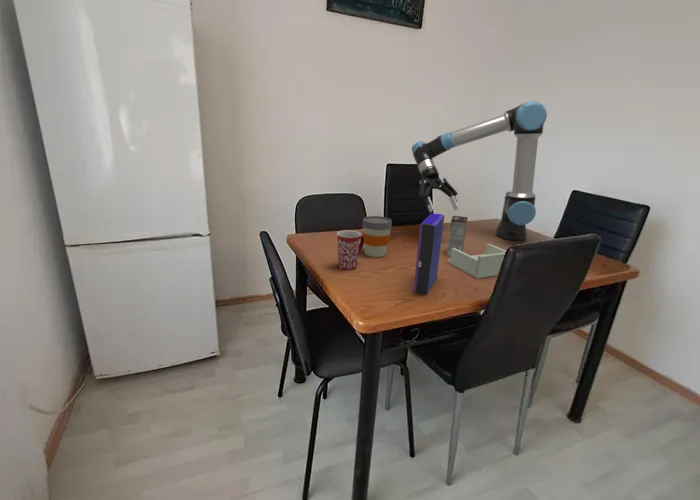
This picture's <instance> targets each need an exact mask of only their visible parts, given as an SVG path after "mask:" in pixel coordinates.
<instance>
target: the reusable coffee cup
mask: <svg viewBox="0 0 700 500" xmlns="http://www.w3.org/2000/svg"><path fill="white" fill-rule="evenodd" d="M392 221H393V220H392V219H391V218H388V217H385V216H377V215H371V216H364V217H363V218H362V224H361V227H362V231H361V232H362V233H361V235H362V236H363V237H364V245H363V247H364V249H363V250H364V254H365V255H366V256H368V257H374V258H381V257H384V256H386V253H387V248H388V245H389V243H390V240H391V239H390V235H391V233H390V231H392V230H391V229H392V227H393V223H392Z"/></svg>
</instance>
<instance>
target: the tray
mask: <svg viewBox="0 0 700 500" xmlns="http://www.w3.org/2000/svg"><path fill="white" fill-rule="evenodd" d="M506 251H507V250H506V249H503V248H500V247H498V246H497V245H493V244H491V243H487V244H486V247H485V253H482V254H474V255H471V254H468V253H466V252H464V251H463V252H462V251H460V250H458V249H456V248H452V250H451V256H449V257H450V258H448V259H447V263H448V264H450V265H452V266H454V267H456V268H457V269H459V270H461V271H463V272H465V273H467V274H469V275H471V276H473V277H474V278H476V279H481V278H488V277H489V276H490V277H495V276H499V275H498V272H499V269H500V266H501V263H502V261H503V258H504V255H505V252H506ZM490 277H489V278H490Z"/></svg>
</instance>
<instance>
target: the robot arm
mask: <svg viewBox="0 0 700 500" xmlns="http://www.w3.org/2000/svg"><path fill="white" fill-rule="evenodd" d="M547 115H548V113H547V109H546V107H545V106H544V105H543V104H542V103H541V102H539V101H534V100H531V101H526V102H523V103H520V104H519V105H518V106H516V107H514V108H512V109H509V110H507V111H504V113H503V114H501V115H499V116H496V117H495V116H494V117H492V118H489V119H486V120H483V121H480V122H477V123H475V124H472V125H468V126H466V127H462V128H459V129H456V130H454V131H451V132H445V133H443V134H441V135H438V136H437V137H435V138H434V139H432V140H431V141H428V142H427V143H426V141H423V140H422V141H418V142H415V143H414V144H413V145H412V147H411V153H412V155H413V159H414V160H415V162H416V165H417V168H418V171H419V172H420V175H421V179H420V180H419V182H418V184H419V191H418V199H421V201H423V202H424V203H425V206H427V210H428V211H429V213H432V212H433V211H434V210H435V207H434V206H433V202H432V200H431V197H430V196H429V193H430V191H431V190H438V191H441V192H442V193H443V194H445V195H446V196H447V197H449V201H450V204H451V205H452V208H453V210H454V212H455V211H457V210H458V209H459V208H460V206H459V204H458V199H457V197H456V196H457V195H458V194H459V192H458V191H457V190H456V189H455V188H454V187H453V186H452V185H451V184H450V183H449V182H448V180H447V179H446V177H443V179H441V178H440V174H439V171H438V169H437V166H436V164H435V162H434V160H433V159H434V158H436V157H437V156H439V155H441V154H444V153H446V152H448V151H450V150H451V149H453V148H456V147H458V146H459V147H460V146H463V145H466V144H468V143H472V142H475V141H479V140H481V139H484V138H487V137H490V136H494V135H497V134H500V133H503V132H506V131H507V132H513V135H514V136H515V137H516V148H515V156H514V157H515V159H514V170H513V178H512V179H513V183H512V191H507V192H506V193H505V195H504V201H503V207H502V212H501V218H500V222H499V224H498V225H497V228H496V229H495V233H494V234H495V236H496V237H497V238H500V239H503V240H507V241H517V242H518V241H525V240H527V239H528V238H527V236H528V233H527V226H526V225H528V224H530V223H531V222H532V221H533V220H534V219H535V216H536V215H537V214H536V212H537V211H536V194H535V193H534V192H533V189H534V180H535V172H536V162H537V154H538V153H537V152H538V144H539V138H540V137H541V136H542V135H543V132H544V124H545V122H546V120H547V117H548V116H547ZM425 186H426V189H425Z"/></svg>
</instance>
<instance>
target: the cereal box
mask: <svg viewBox="0 0 700 500" xmlns="http://www.w3.org/2000/svg"><path fill="white" fill-rule="evenodd" d="M444 222H445V214H440V213H432V212H430V214H429V215H428V216H427V217H426V218H425V219H424V220H423V221H421V223H420V225H419V232H418V243H417V253H416V261H415V262H416V263H415V271H414V272H415V273H414V282H413V289H412V290H413V291H412V292H413V293H416V294H420V295H426V296H428V294H429V292H430V291H431V289H432V288H433V285H434V283H435V282H436V280H437V278H438V272H439V264H440V263H439V262H440V255H441V248H442V247H441V246H442V242H443V241H442V239H443V231H444V225H445V224H444Z"/></svg>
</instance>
